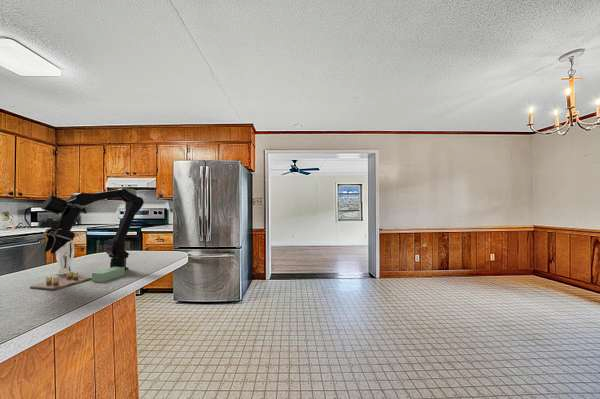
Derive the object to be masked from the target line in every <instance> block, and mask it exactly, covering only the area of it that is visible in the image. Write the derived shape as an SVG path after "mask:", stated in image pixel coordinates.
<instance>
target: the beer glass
mask: <svg viewBox="0 0 600 399" xmlns="http://www.w3.org/2000/svg"><path fill="white" fill-rule="evenodd" d="M74 257H75V241H72V240H71V241H69V242H68V243H66V244H65V245H64V246H62V247H61V248H60V249H58V250H57V251H56V252H55V258H56V263H57V270H56V275H57V276H60V275H61V276H64V275H66V272H72V274H73V273H74V268H73V261H74Z"/></svg>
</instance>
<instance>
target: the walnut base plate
mask: <svg viewBox="0 0 600 399" xmlns="http://www.w3.org/2000/svg"><path fill="white" fill-rule="evenodd" d="M65 275H66V276H65V277H59V276H54V277H53V276H51V275H50V276H46V278H45V281H44V282H40V283H37V284H33V285H29V286H30V287H29V288H30V289H34V290H42V291H43V290H44V291H52V292H53V291H56V290H60V289H64V288H67V287H70V286H73V285H77V284H81V283H84V282H88V281H92V277H88V276H79V272H78V271H75V272H74V271H73V273H72V272H66V274H65Z"/></svg>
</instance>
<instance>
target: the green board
mask: <svg viewBox="0 0 600 399" xmlns="http://www.w3.org/2000/svg"><path fill="white" fill-rule="evenodd" d="M124 269H125V267H111V268H110V267H108V268H105V269H104V268H103V269H100V270H98V271H94V272H91V278H92V279H91V282H95V283H96V282H97V283H104V282H107V281H109V280H110V281H111V280H113V279H116V278H119V277H122V275H123V276H125V270H126V269H125V270H124Z"/></svg>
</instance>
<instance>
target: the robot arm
mask: <svg viewBox="0 0 600 399" xmlns="http://www.w3.org/2000/svg"><path fill="white" fill-rule="evenodd" d="M115 198H120V199H121V201H123V202H125V205H124V206H125V207H124V208H125V211H124V214H123V216H122V218H121V221H120V223H119V226H118V228H117V230H116V233H115V235H114V237H112V239H107V241H106V244H105V246H104V251H105V253H106V254H107V255H108V257H109V258H110V262H109V264H110V265H109V268H111V267H125V269H124V271H125V270H127V269H129V267H127V258H129V255H130V254H129V253H128V252H127V251H126V250H125V247H126V237H127V235H128V233H129V230H130V229H131V228H130V227H131V226H132V223H133V220H134V218H135V215H136V214H137V213H138V212H139V211H140V210H141V209H142V207H143V206H144V203H145V200H144V199H143V197H140V196H137V195H136V194H135V193H132V192H130V191H129V190H127V189H125V188H118V189H113V190H107V191H106V190H105V191H100V192H75V193H72V194H71V195H70V196H69V197H68V198H66V199H62V198H59V196H58V197H57V196H56V195H53V194H52V195H50V196H48V198H47V199H46V200H45V201H43V203H42V204H41V206H40V208H41V209H40V210H43V211H46V212H49V213H52V214H55V215H59V214H61V215H60V217H59V218H56V220H54V219H53V218H46V219H45V220H41V219H40V220H38V222H37V229H38V228H39V229H45V228H47V229H45V231H44V236H45V238H46V243H45V247H44V252H46V253H47V252H48V253H50V254H54V253H55V254H56V251H57V250H58V249H60V248H61V247H62V246H64V245H65V244H66V243H68V242H69V241H71V242H72V240H74V238H75V236H76V234H75V232H73V231H71V230H72V228H73V227H74V226H75V225H76V224H77V223H76V222H77V220H78V218H79V216H80V215H81V213H82V214H87V213H88V212H87V210H86V207H84V206H87V205H90V204H92V203H95V202H97V201H103V200H109V199H115ZM79 206H83V207H79ZM49 251H50V252H49Z"/></svg>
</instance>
